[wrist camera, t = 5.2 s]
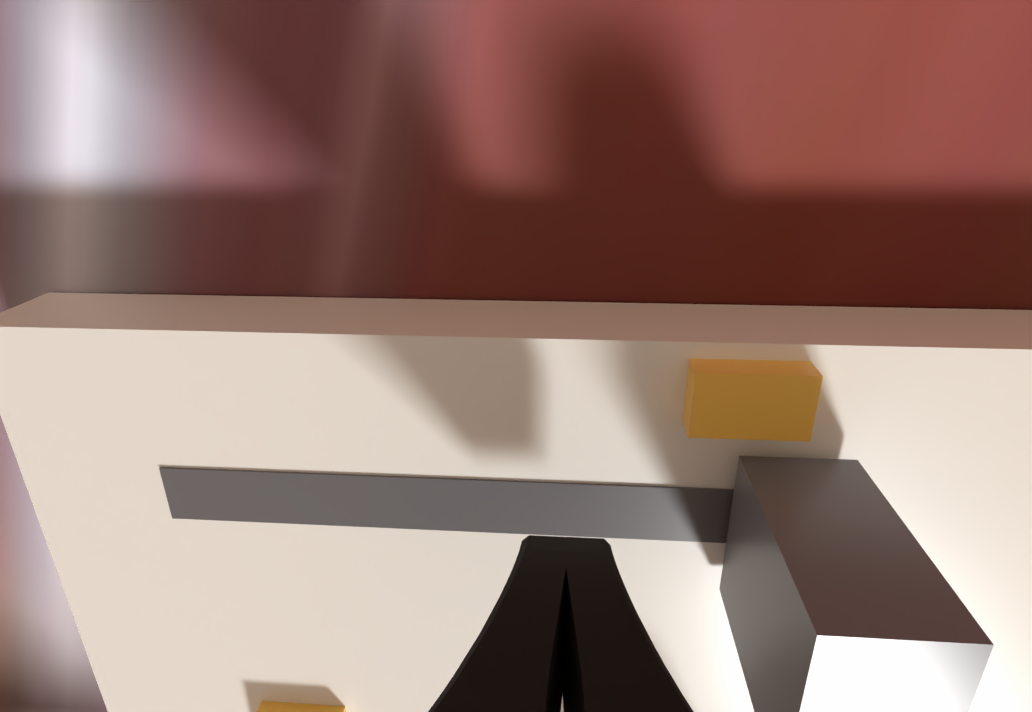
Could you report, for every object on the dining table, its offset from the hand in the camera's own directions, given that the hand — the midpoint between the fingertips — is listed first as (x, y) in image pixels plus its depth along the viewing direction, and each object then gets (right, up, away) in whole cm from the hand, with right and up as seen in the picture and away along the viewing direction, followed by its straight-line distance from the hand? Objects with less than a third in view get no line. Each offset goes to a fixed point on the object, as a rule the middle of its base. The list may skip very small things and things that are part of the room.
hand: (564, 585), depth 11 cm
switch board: (0, -2, +5) cm, 6 cm away
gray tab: (+4, +1, +1) cm, 4 cm away
